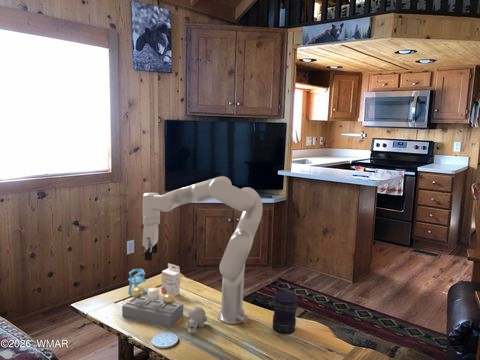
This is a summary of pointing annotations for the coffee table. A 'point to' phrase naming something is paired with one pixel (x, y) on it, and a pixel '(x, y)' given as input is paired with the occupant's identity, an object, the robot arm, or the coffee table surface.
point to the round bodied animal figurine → (196, 319)
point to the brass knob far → (137, 292)
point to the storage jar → (284, 312)
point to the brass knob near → (169, 298)
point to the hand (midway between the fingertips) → (151, 256)
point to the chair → (136, 280)
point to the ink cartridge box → (171, 280)
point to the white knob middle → (153, 294)
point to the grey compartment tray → (152, 311)
